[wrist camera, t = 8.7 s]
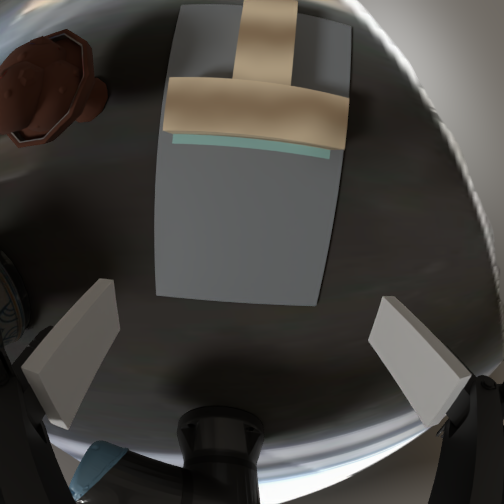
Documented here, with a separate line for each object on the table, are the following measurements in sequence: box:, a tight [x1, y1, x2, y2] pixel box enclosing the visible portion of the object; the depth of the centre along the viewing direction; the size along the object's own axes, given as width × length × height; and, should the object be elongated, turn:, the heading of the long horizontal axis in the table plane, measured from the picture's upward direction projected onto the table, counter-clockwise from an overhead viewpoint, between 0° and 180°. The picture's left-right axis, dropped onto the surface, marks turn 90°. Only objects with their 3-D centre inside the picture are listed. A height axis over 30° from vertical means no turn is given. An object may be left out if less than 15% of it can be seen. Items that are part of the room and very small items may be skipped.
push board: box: [154, 4, 351, 306], centre depth 26 cm, size 34×19×1 cm, turn 174°
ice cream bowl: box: [0, 29, 108, 148], centre depth 16 cm, size 11×11×15 cm
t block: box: [163, 0, 349, 150], centre depth 21 cm, size 15×16×4 cm
